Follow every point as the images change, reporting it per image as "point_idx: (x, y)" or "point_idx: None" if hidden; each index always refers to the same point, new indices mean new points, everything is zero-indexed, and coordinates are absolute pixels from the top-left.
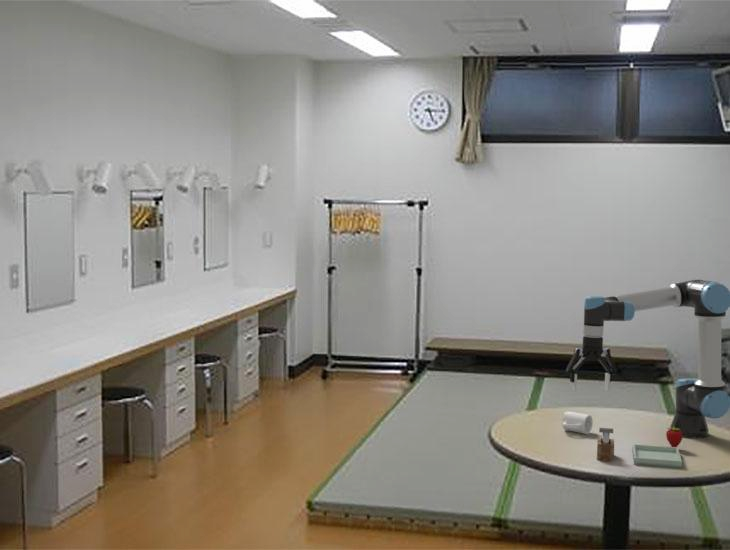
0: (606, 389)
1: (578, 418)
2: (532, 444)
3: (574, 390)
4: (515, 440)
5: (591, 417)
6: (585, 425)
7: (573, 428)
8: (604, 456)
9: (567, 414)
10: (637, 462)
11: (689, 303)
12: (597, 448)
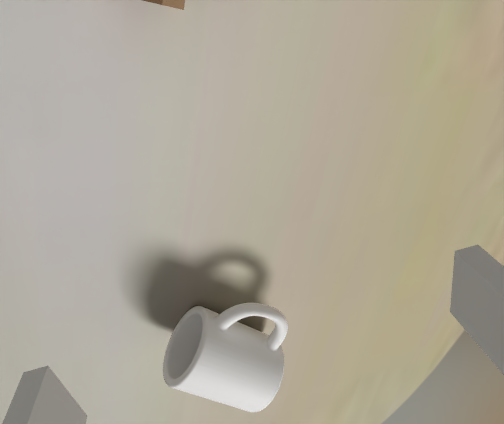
0: (59, 393)
1: (229, 356)
2: (440, 136)
3: (483, 250)
4: (480, 184)
5: (169, 381)
6: (190, 359)
7: (241, 324)
8: None
9: (269, 382)
10: None
11: None
12: None
